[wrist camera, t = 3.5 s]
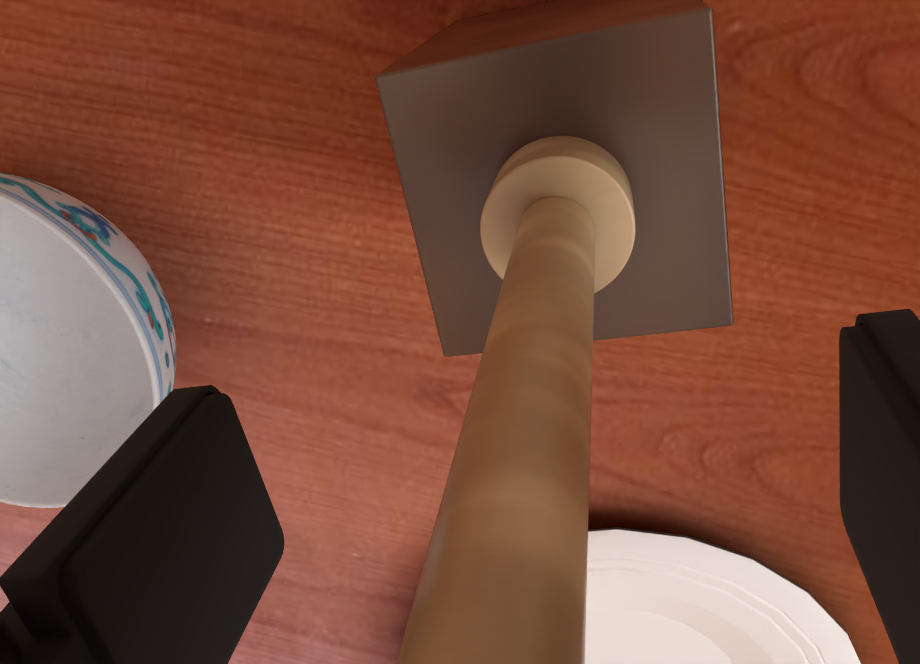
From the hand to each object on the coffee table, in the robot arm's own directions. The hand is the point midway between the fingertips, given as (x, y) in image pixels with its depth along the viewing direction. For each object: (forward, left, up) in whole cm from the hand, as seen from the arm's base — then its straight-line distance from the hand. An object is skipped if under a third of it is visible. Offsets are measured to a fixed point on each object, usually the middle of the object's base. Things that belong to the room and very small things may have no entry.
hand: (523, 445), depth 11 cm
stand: (0, 0, -22) cm, 22 cm away
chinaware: (+24, +4, -23) cm, 33 cm away
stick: (0, 0, -10) cm, 10 cm away
